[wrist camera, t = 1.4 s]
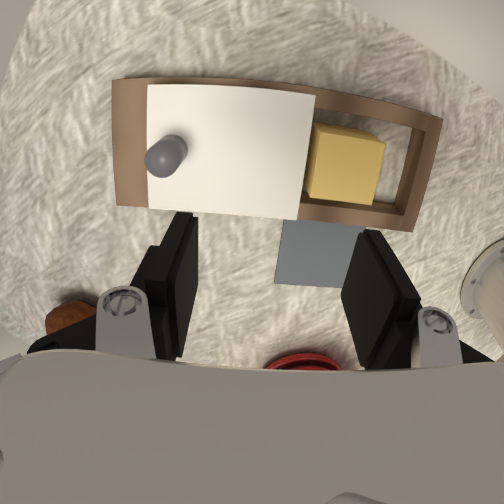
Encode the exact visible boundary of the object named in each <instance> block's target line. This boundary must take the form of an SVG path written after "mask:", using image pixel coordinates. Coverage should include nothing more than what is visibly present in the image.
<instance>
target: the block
mask: <svg viewBox="0 0 504 504" xmlns="http://www.w3.org/2000/svg"><path fill="white" fill-rule="evenodd" d="M385 145H386V144H385V143H384V142H382V141H381V140H379V139H377V138H376V137H374V136H373V135H371V134H370V133H368V132H366V131H364V130H359V129H353V128H348V127H342V126H336V125H330V124H324V123H318V122H312V126H311V133H310V139H309V146H308V153H307V159H306V166H305V172H304V178H303V181H304V184H305V186H306V189H307V192H308V194H309V197H310V198H319V199H327V200H335V201H343V202H351V203H358V204H366V205H372V202H373V198H374V194H375V190H376V185H377V181H378V177H379V173H380V168H381V164H382V159H383V155H384V150H385Z"/></svg>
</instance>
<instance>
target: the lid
mask: <svg viewBox="0 0 504 504" xmlns="http://www.w3.org/2000/svg"><path fill="white" fill-rule="evenodd" d="M315 97H316V95H313V94H306V93H299V92H292V91H284V90H276V89H266V88H256V87H244V86H229V85H209V84H150V85H148V88H147V152H146V154H145V158H144V163H145V166H146V169H147V179H148V203H149V209H163V210H178V211H193V212H206V213H219V214H231V215H243V216H255V217H266V218H277V219H287V220H297V215H298V209H299V203H300V197H301V191H302V185H303V178H304V172H305V166H306V159H307V153H308V146H309V139H310V133H311V126H312V119H313V112H314V104H315Z"/></svg>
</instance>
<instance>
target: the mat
mask: <svg viewBox="0 0 504 504" xmlns="http://www.w3.org/2000/svg"><path fill="white" fill-rule="evenodd" d="M365 229H366V227H365V226H356V225H348V224H339V223H330V222H320V221H311V220H301V219H297V220H287V219H284V221H283V228H282V234H281V241H280V247H279V254H278V260H277V266H276V272H275V278H274V283H275V284H289V285H303V286H317V287H333V288H342V287H343V284H344V281H345V278H346V274H347V271H348V268H349V264H350V261H351V257H352V254H353V250H354V247H355V243H356V240H357V236H358V234H359V233H360V232H362V233H363V231H364V230H365Z"/></svg>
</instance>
